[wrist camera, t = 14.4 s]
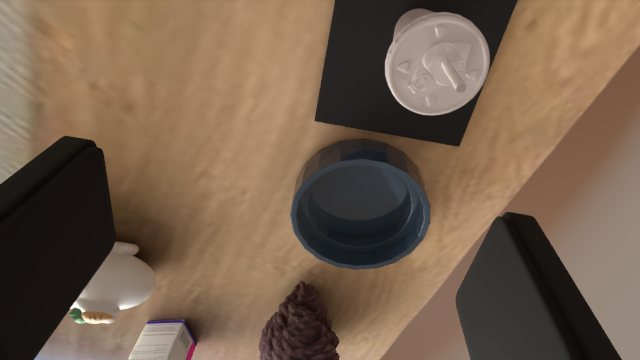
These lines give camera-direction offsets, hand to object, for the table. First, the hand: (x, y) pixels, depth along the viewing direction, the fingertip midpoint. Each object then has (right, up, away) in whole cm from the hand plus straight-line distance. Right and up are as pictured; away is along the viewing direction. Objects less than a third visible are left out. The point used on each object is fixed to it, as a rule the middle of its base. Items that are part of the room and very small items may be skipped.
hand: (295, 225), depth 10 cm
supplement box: (-21, -21, +49) cm, 57 cm away
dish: (+5, -1, +34) cm, 34 cm away
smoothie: (+9, +13, +24) cm, 29 cm away
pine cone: (-2, -17, +45) cm, 48 cm away
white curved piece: (-26, -8, +41) cm, 49 cm away
